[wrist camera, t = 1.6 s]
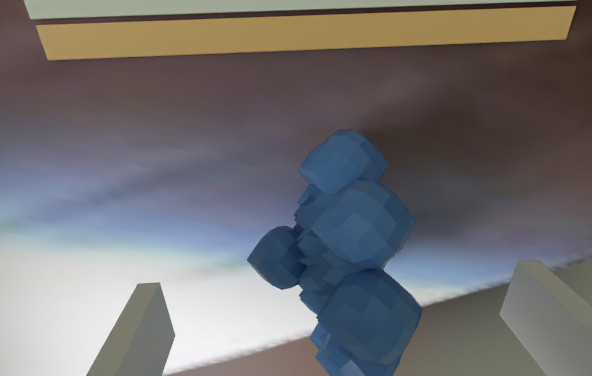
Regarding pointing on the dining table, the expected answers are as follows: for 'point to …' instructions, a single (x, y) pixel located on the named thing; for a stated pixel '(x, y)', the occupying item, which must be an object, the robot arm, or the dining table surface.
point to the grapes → (346, 258)
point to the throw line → (303, 32)
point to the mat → (215, 6)
